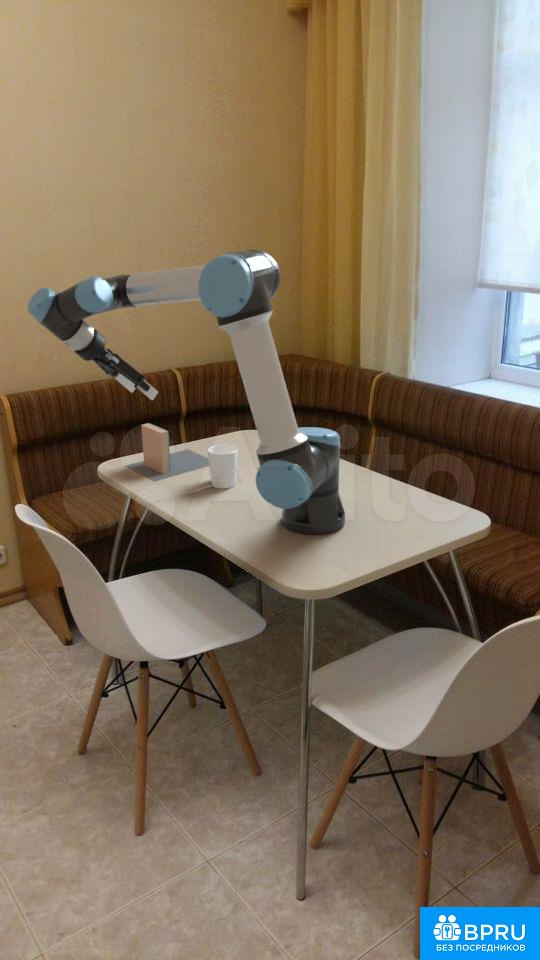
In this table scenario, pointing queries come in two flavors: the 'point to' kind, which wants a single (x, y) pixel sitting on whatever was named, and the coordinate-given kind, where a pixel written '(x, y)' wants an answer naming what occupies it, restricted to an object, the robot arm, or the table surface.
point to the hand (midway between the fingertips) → (144, 392)
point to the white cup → (223, 466)
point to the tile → (156, 448)
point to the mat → (173, 465)
